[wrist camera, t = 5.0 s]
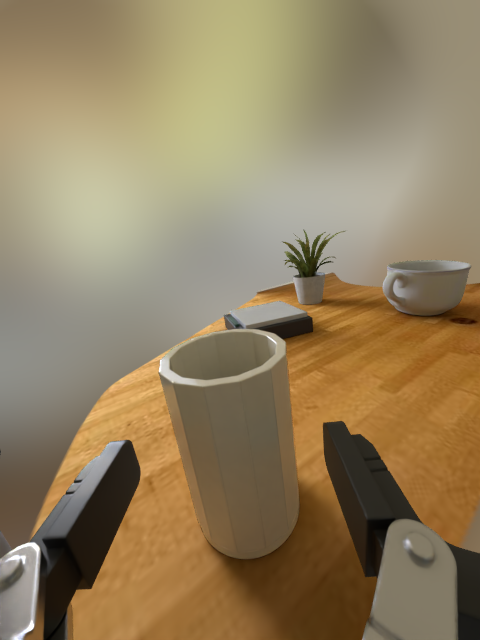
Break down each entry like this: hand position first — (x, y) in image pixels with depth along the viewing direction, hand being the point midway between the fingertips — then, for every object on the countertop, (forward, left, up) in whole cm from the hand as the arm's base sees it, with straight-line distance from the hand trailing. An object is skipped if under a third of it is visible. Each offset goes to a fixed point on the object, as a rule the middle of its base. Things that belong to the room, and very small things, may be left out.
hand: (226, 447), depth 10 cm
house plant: (+30, +42, -7) cm, 52 cm away
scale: (+13, +31, -7) cm, 34 cm away
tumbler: (+1, +3, -7) cm, 8 cm away
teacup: (+37, +23, -7) cm, 44 cm away
